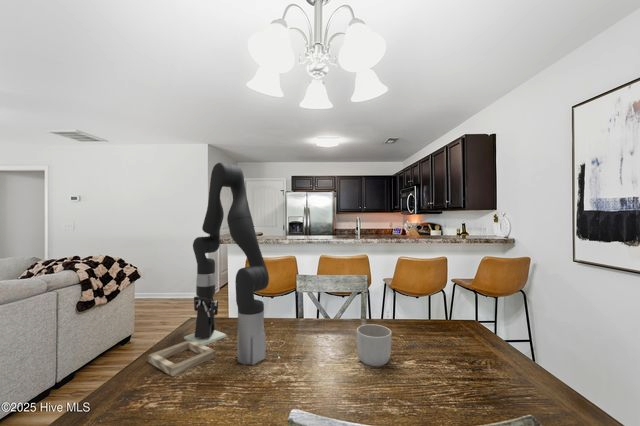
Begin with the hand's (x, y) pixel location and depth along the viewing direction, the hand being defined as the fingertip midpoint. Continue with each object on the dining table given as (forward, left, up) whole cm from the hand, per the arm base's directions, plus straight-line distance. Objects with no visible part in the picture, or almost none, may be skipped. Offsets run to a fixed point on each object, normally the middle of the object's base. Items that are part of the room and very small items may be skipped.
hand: (205, 323), depth 125 cm
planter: (-66, -24, -6) cm, 70 cm away
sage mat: (0, 0, -6) cm, 6 cm away
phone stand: (0, 0, -4) cm, 4 cm away
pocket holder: (-10, +16, -6) cm, 20 cm away
